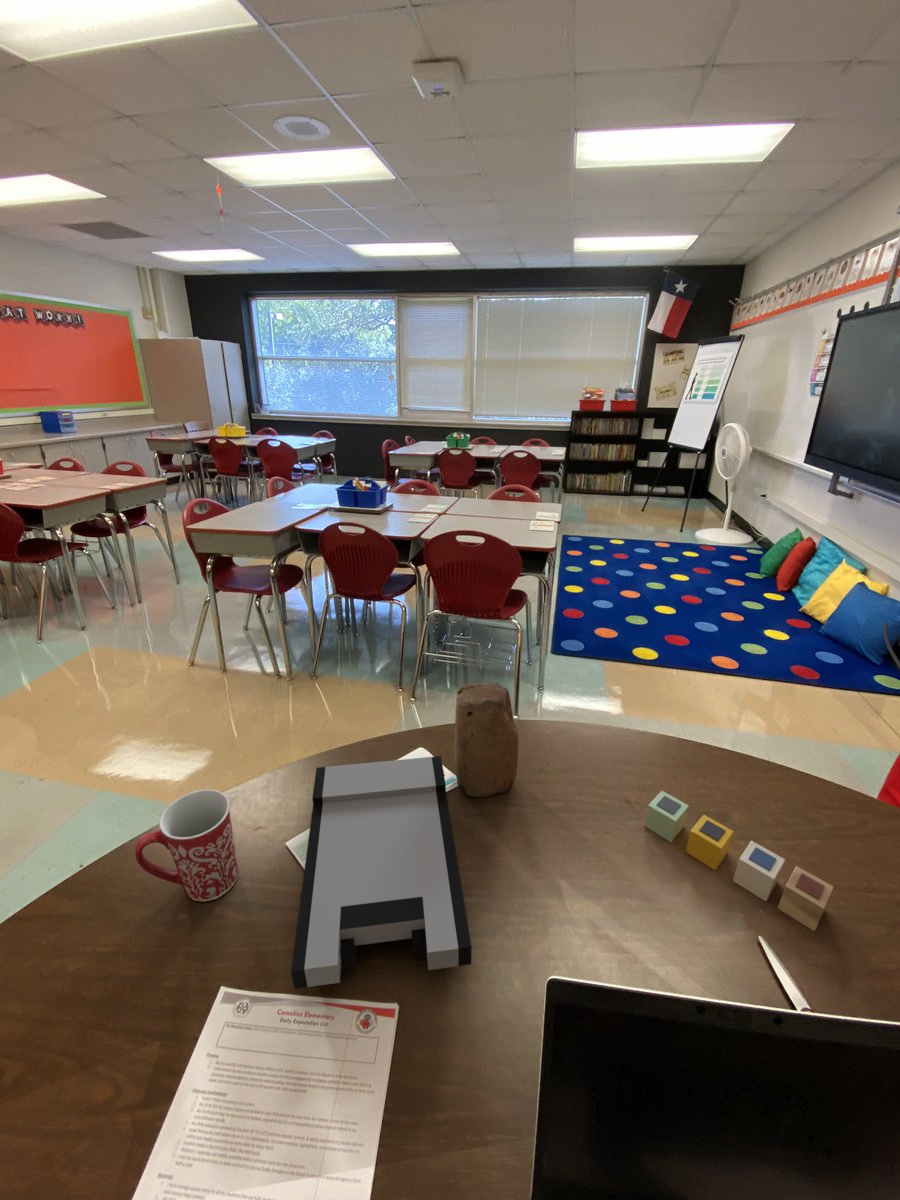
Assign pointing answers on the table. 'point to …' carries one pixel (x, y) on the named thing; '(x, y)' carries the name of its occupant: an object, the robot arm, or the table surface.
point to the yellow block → (709, 842)
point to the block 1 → (485, 740)
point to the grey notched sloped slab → (379, 869)
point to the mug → (195, 844)
